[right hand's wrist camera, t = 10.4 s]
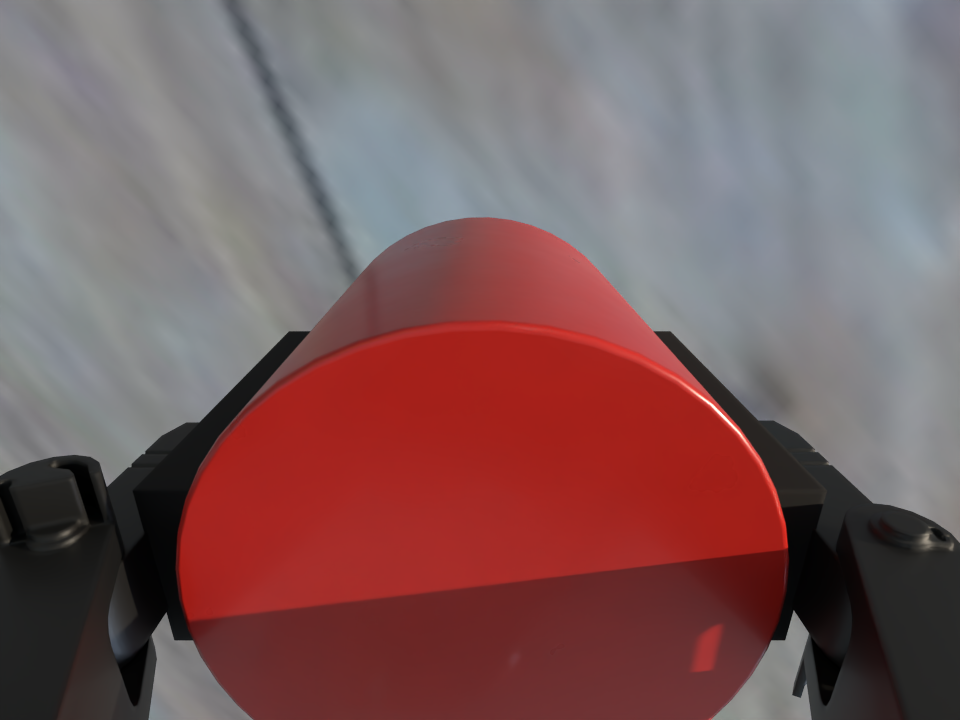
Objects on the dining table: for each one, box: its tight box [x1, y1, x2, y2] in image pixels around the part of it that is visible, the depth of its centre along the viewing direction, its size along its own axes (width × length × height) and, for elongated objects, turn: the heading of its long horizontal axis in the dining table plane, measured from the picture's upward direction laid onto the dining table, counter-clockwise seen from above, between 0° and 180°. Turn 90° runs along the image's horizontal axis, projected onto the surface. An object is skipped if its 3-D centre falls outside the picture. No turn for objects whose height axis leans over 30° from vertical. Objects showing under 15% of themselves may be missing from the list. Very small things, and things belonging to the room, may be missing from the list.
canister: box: [176, 217, 789, 720], centre depth 11 cm, size 8×8×8 cm
